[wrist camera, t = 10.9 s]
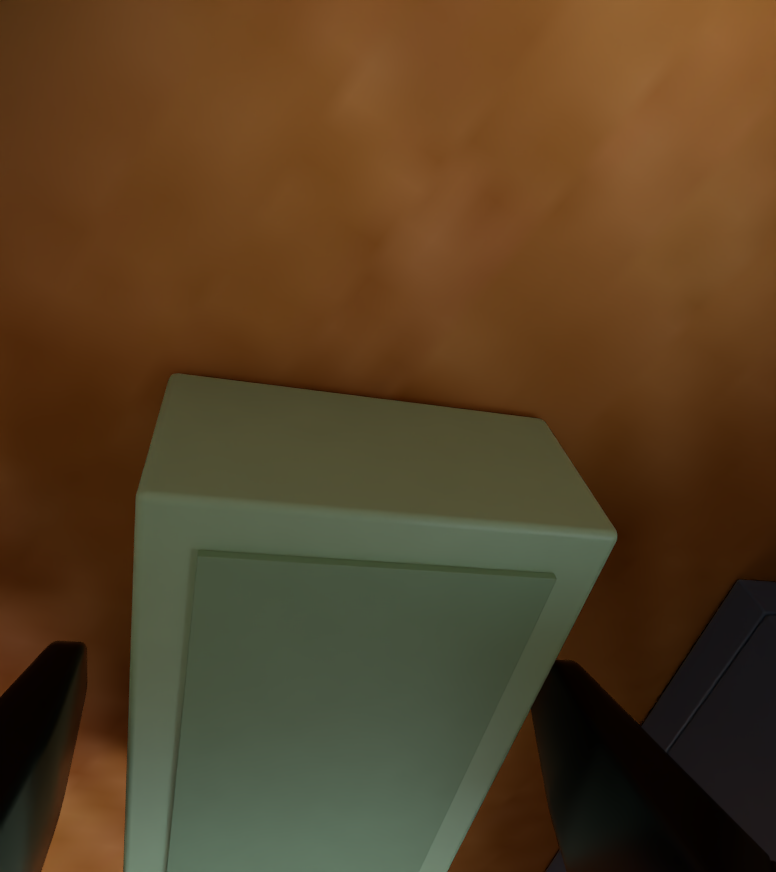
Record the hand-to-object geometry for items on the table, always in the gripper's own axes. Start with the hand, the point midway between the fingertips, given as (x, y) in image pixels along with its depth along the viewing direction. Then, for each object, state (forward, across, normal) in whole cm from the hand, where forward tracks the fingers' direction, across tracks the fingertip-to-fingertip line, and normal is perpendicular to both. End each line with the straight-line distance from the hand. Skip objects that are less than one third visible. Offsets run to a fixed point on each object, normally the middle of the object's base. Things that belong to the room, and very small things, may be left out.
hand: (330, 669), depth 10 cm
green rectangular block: (+1, 0, 0) cm, 1 cm away
